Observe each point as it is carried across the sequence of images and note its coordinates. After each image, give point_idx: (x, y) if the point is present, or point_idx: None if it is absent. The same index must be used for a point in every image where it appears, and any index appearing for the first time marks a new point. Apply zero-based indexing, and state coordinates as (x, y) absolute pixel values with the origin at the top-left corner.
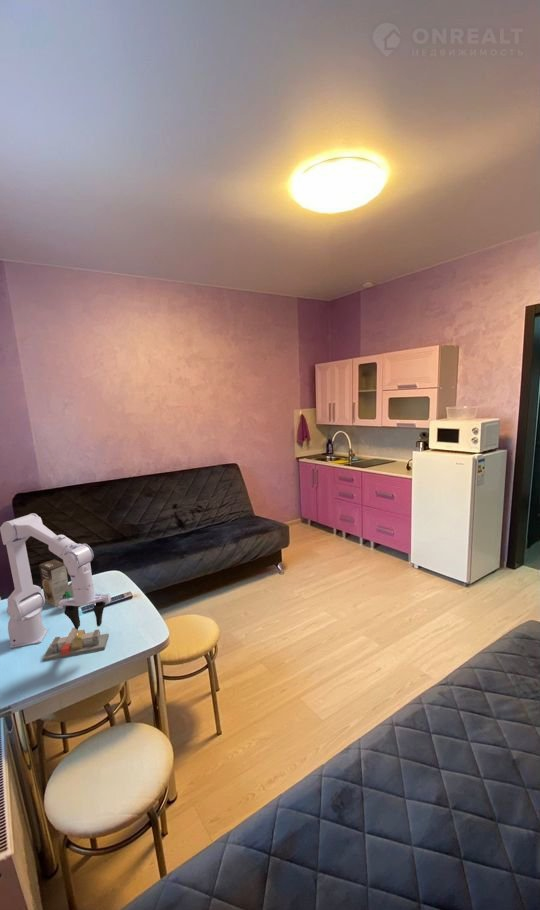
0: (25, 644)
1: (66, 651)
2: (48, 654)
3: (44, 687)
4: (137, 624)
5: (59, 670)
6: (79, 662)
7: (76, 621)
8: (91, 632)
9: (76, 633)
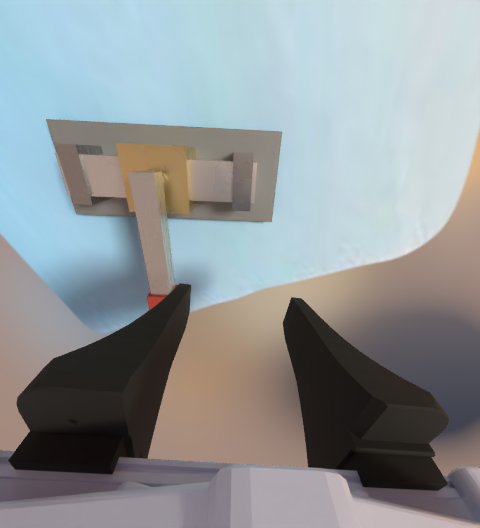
0: None
1: None
2: None
3: None
4: (405, 75)
5: None
6: (204, 254)
7: (177, 340)
8: (221, 162)
9: (163, 203)
